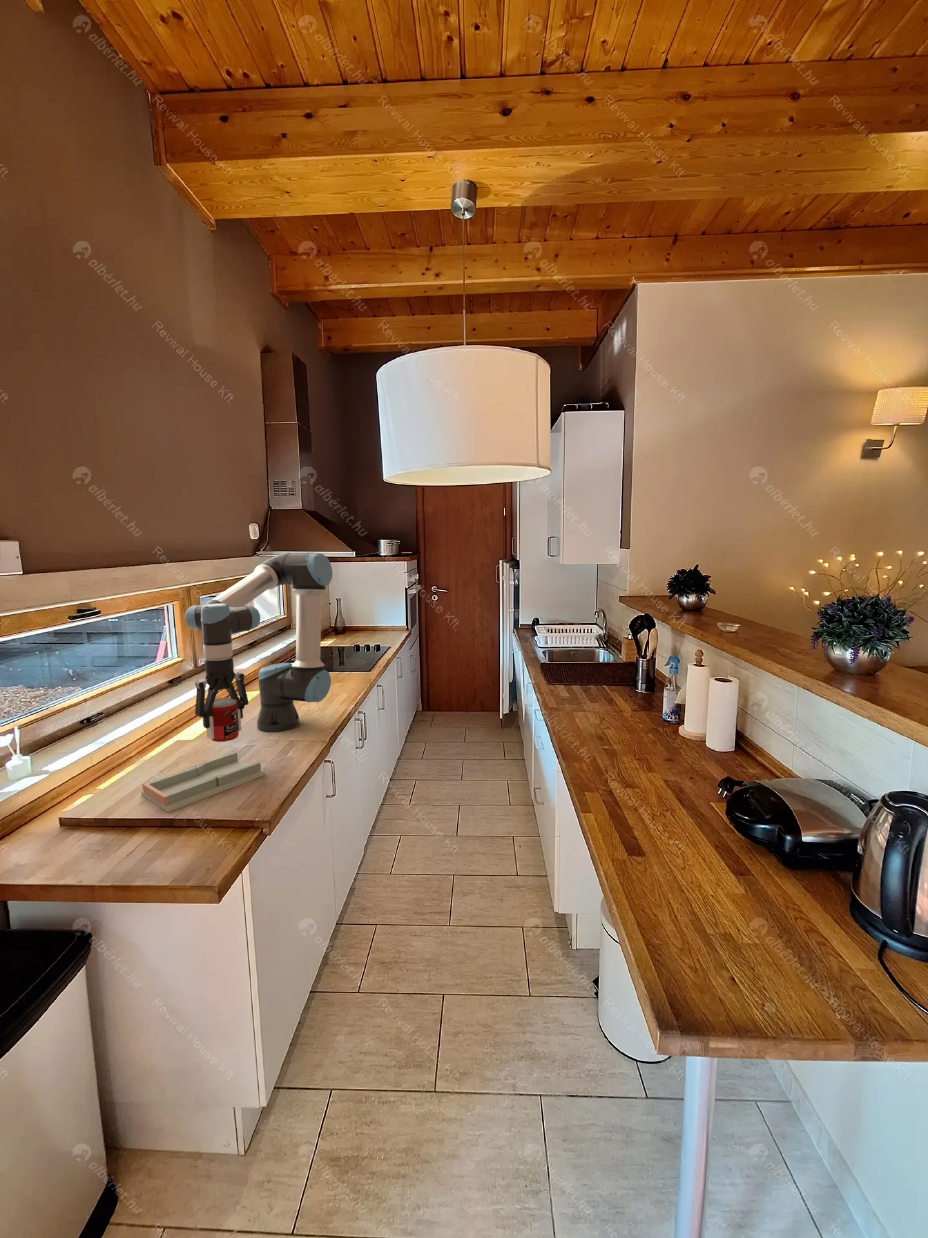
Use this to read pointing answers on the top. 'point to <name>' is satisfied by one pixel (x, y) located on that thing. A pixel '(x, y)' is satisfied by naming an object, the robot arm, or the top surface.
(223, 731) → the canned food
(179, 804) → the grey miter box
